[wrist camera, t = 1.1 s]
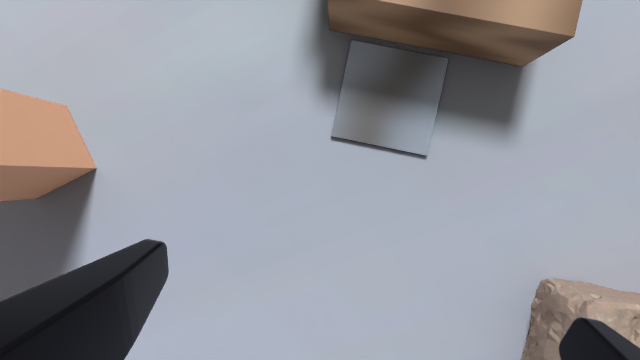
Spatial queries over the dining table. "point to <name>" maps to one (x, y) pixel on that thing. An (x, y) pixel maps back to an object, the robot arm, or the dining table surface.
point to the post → (38, 147)
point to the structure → (430, 57)
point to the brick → (577, 314)
